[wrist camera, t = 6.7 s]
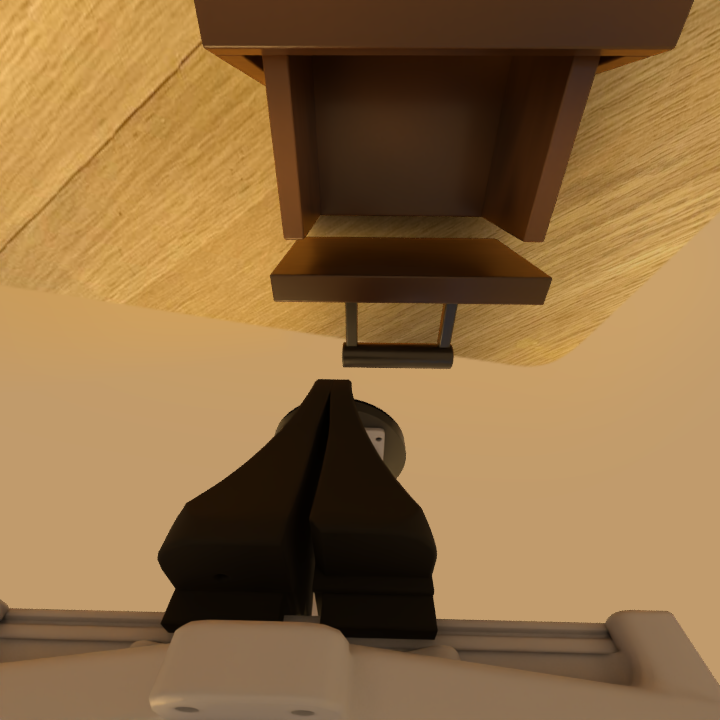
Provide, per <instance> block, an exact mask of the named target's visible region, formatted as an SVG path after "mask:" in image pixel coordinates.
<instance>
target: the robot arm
mask: <svg viewBox="0 0 720 720" xmlns="http://www.w3.org/2000/svg"><path fill="white" fill-rule="evenodd" d="M351 384H352V383H351V381H349V380H330V379H318V380H317V381H316V382H315V383H314V385H313V387H312V389H311V390H310V392H309V393H308V395H307V396H306V398H305V399H304V401H303V402H302V403H301V405H300V406H299V408H298V409H297V410H296V412H295V413H294V414H293V415H292V417H291V418H290V419H289V420H288V421H287V423H286V424H285V425H284V426H283V427H282V429H281V430H280V431H279V432H278V433H277V434H276V435H275V436H274V437H273V438H272V439H271V440H270V441H269V442H268V443H267V444H266V445H265V446H264V447H263V448H262V449H261V450H260V451H259V452H257V453H256V454H255V455H254V456H253V457H252V458H251V459H250V460H248V461H247V462H246V463H245V464H244V465H242V466H241V467H240V468H238V469H237V470H236V471H235V472H233V473H232V474H230V475H229V476H228V477H226V478H225V479H224V480H222V481H221V482H219V483H218V484H216V485H215V486H213V487H212V488H210V489H209V490H207V491H205V492H204V493H202V494H201V495H199V496H197V497H196V498H194V499H193V500H191V501H189V502H187V503H186V505H185V506H184V508H183V510H182V511H181V513H180V514H179V515H178V517H177V518H176V520H175V522H174V524H173V526H172V527H171V529H170V531H169V533H168V535H167V537H166V539H165V541H164V543H163V545H162V547H161V549H160V551H159V553H158V562H159V564H160V566H161V569H162V570H163V571H164V573H165V574H166V576H167V577H168V579H169V580H170V581H171V583H172V584H173V586H174V587H175V591H174V593H173V596H172V598H171V600H170V602H169V605H168V607H167V609H166V612H133V611H132V612H129V611H92V610H51V609H13V608H12V609H11V608H9V607H8V605H7V604H6V603H4V602H3V601H2V600H0V720H720V685H719V684H718V682H717V681H716V679H715V678H714V676H713V675H712V673H711V672H710V670H709V669H708V667H707V666H706V664H705V663H704V661H703V660H702V658H701V656H700V655H699V653H698V652H697V651H696V649H695V647H694V646H693V644H692V643H691V641H690V640H689V638H688V637H687V635H686V634H685V632H684V631H683V629H682V628H681V626H680V625H679V623H678V621H677V620H676V618H675V617H674V615H673V614H672V613H670V612H668V611H644V610H642V611H641V610H627V611H626V610H625V611H620V612H616V613H614V614H612V615H611V616H610V617H609V618H608V619H607V621H606V623H575V622H574V623H572V622H535V621H494V620H454V619H453V620H452V619H436V615H435V608H434V601H433V595H434V587H433V580H432V573H433V570H434V566H435V562H436V559H437V550H436V545H435V542H434V538H433V535H432V532H431V529H430V527H429V524H428V522H427V520H426V517H425V515H424V513H423V510H422V508H421V507H420V506H419V505H418V504H417V503H416V502H415V501H414V500H413V499H412V497H411V496H410V495H409V494H408V493H407V492H406V491H405V489H404V488H403V487H402V486H401V484H400V483H399V482H398V481H397V480H396V478H395V477H394V475H393V474H392V473H391V471H390V470H389V468H388V467H387V466H386V464H385V463H384V462H383V455H384V440H385V431H384V430H383V429H382V428H364V426H363V423H362V421H361V419H360V416H359V413H358V411H357V408H356V405H355V402H354V398H353V394H352V387H351V386H352V385H351ZM377 437H380V438H377Z"/></svg>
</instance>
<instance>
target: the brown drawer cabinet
mask: <svg viewBox="0 0 720 720" xmlns="http://www.w3.org/2000/svg"><path fill="white" fill-rule="evenodd" d="M693 2H694V0H194V3H195V8H196V13H197V18H198V24H199V29H200V34H201V39H202V44H203V47H204V48H205V49H206V50H208V51H210V52H211V53H213V54H215V55H216V56H218V57H219V58H221V59H222V60H224V61H226V62H227V63H229V64H231V65H232V66H234V67H235V68H237V69H239V70H240V71H242V72H244V73H245V74H247V75H248V76H250V77H252V78H253V79H255V80H257V81H258V82H260V83H261V84H263V85H265V77H264V68H263V60H262V55H466V56H601V57H600V60H599V63H598V67H597V70H596V73H595V75H596V74H599V73H602V72H605V71H608V70H611V69H614V68H617V67H620V66H623V65H626V64H629V63H632V62H635V61H639V60H642V59H645V58H648V57H650V56H654V55H657V54H660V53H663V52H666V51H669V50H672V49H674V48H675V46H676V44H677V42H678V39H679V37H680V34H681V32H682V29H683V27H684V24H685V22H686V19H687V17H688V14H689V12H690V9H691V7H692V4H693ZM265 86H266V85H265Z"/></svg>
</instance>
